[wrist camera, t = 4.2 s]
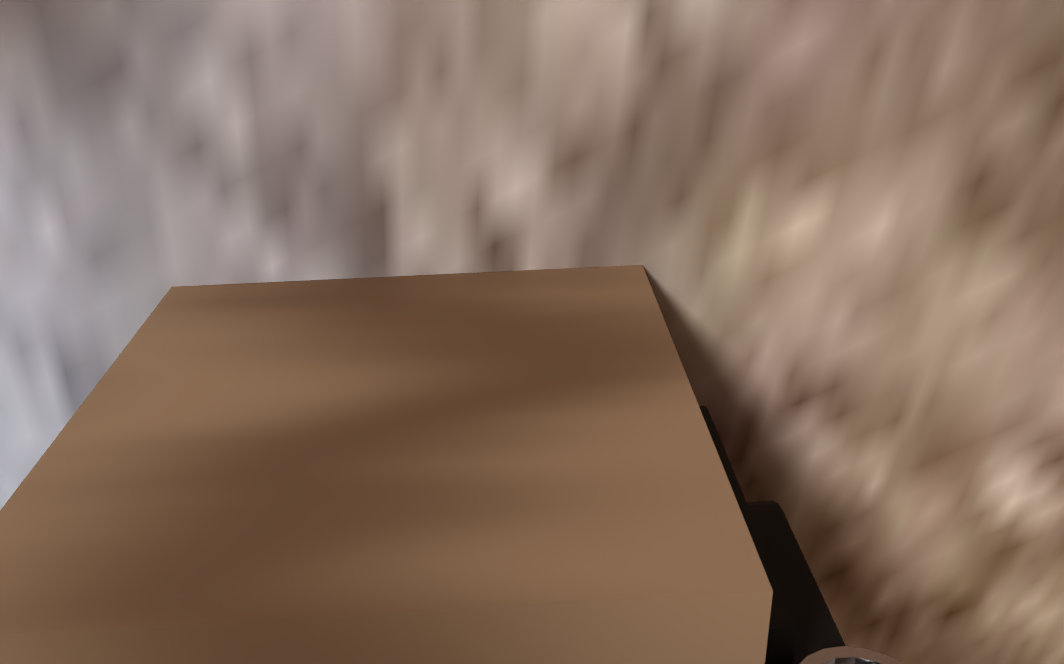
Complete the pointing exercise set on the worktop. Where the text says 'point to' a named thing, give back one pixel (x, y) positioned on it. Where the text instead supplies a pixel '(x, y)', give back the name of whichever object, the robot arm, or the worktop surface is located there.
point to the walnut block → (387, 486)
